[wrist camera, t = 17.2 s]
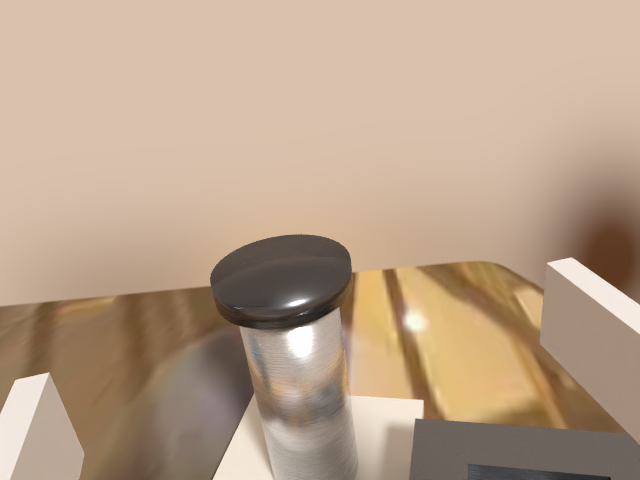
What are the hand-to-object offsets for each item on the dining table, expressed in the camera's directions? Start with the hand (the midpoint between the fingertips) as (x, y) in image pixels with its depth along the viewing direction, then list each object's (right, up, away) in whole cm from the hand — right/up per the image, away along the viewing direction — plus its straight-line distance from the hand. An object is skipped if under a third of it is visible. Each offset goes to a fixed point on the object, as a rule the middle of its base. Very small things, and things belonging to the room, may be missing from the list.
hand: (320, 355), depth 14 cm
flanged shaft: (0, -13, +23) cm, 26 cm away
